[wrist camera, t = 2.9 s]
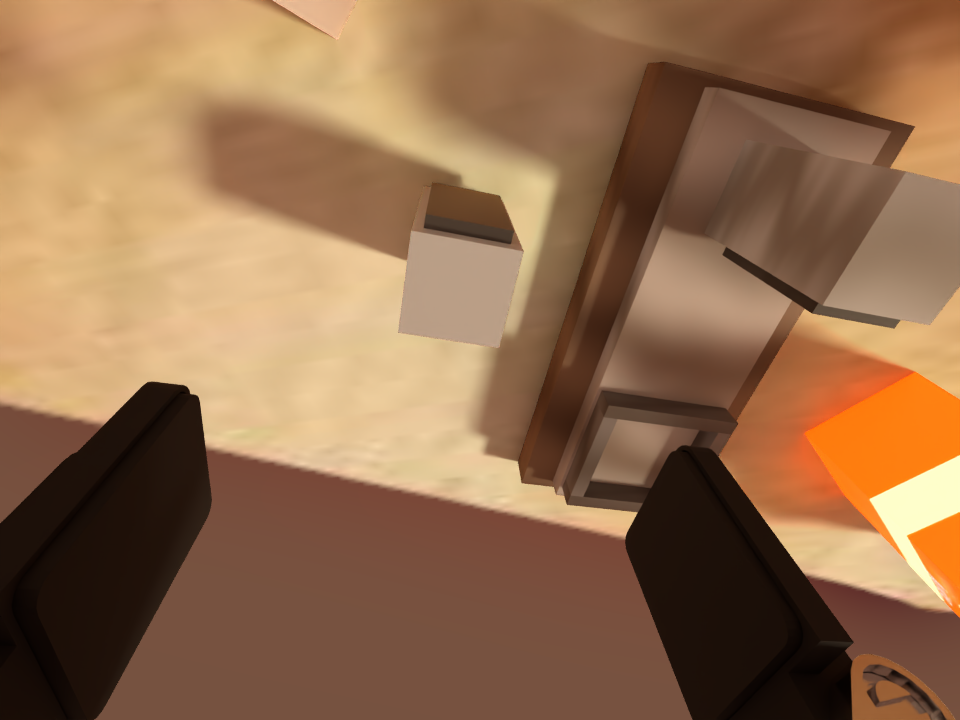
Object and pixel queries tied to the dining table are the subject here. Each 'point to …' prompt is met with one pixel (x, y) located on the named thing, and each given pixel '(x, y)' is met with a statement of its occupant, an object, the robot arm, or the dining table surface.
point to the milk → (322, 13)
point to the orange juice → (904, 474)
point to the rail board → (726, 271)
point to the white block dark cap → (460, 267)
